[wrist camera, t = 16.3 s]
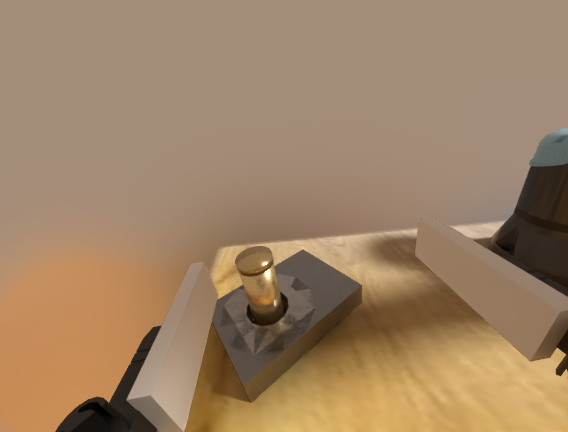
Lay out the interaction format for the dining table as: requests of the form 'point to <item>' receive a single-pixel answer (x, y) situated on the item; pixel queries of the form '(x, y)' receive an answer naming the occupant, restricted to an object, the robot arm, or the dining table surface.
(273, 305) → the amber cylindrical peg
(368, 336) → the dining table surface
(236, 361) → the jig
